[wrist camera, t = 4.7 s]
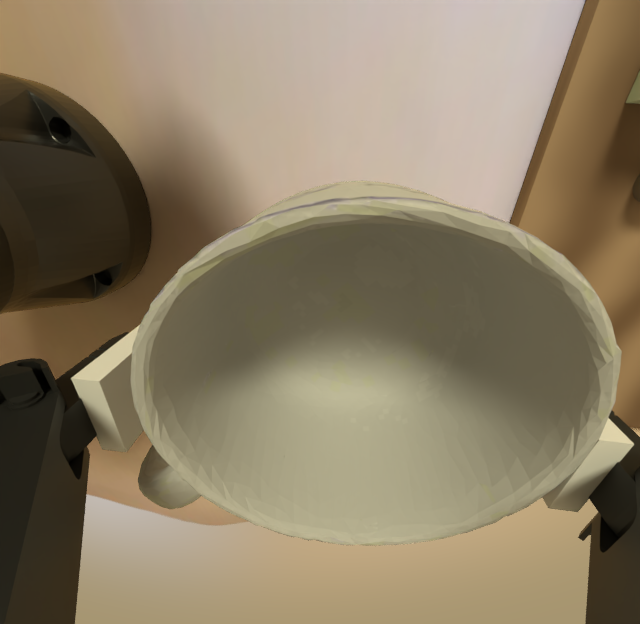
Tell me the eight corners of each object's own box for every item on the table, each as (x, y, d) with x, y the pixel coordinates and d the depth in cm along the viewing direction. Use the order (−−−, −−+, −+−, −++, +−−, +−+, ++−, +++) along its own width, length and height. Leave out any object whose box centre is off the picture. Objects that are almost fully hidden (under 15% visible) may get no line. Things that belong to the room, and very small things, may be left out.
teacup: (454, 123, 10) (686, 44, 3) (491, 363, 15) (623, 553, 8) (143, 253, 14) (-80, 355, 7) (249, 415, 18) (183, 582, 11)
